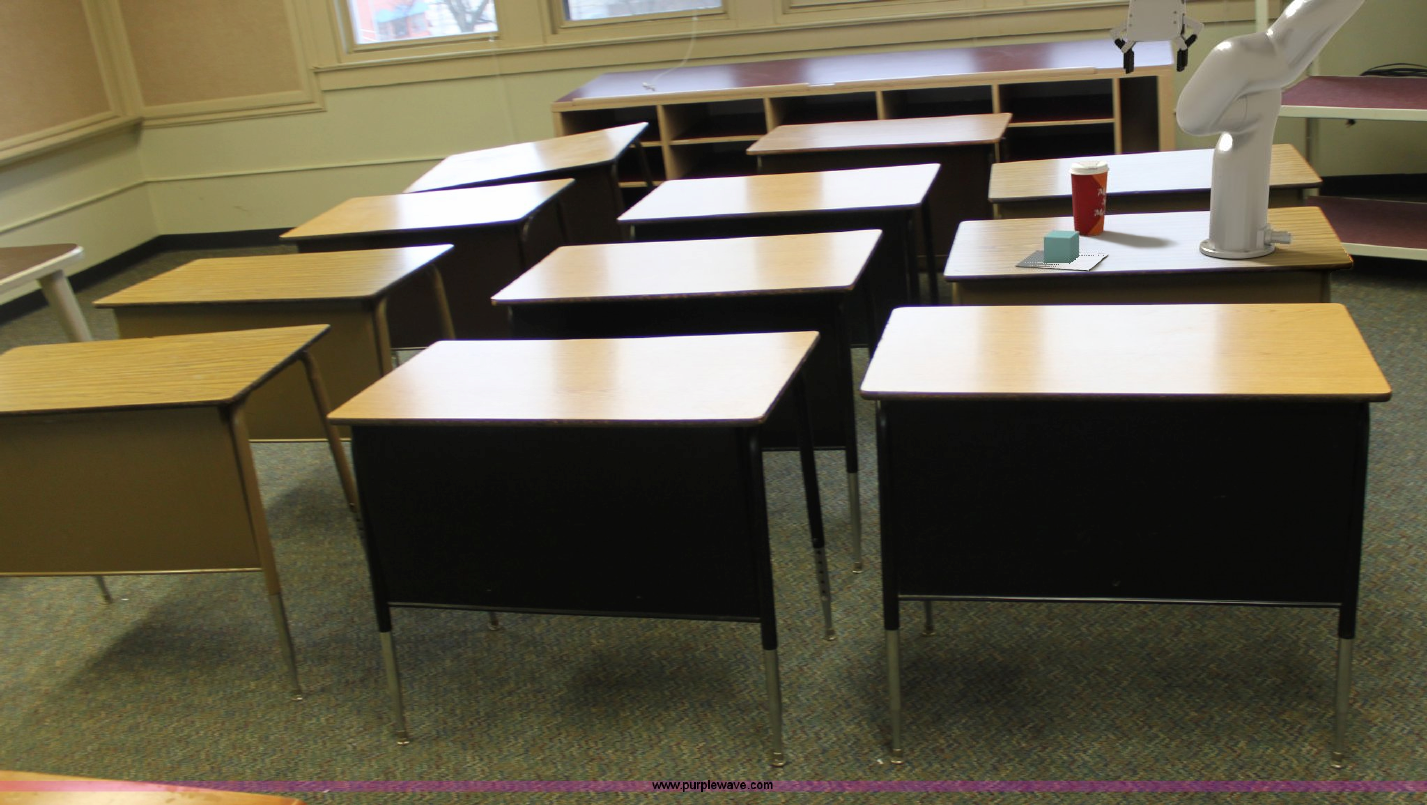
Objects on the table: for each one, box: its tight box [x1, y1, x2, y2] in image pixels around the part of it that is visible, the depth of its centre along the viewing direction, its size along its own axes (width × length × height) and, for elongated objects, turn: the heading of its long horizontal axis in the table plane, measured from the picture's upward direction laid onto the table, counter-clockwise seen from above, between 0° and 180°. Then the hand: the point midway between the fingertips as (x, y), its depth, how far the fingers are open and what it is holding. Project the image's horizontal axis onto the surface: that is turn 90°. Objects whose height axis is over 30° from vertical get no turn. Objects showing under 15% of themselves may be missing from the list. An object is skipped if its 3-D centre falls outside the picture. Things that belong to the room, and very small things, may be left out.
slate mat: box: [1015, 249, 1104, 268], centre depth 215 cm, size 14×11×1 cm
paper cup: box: [1069, 160, 1110, 237], centre depth 229 cm, size 8×8×14 cm
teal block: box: [1043, 229, 1080, 264], centre depth 214 cm, size 5×5×5 cm
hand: (1154, 71), depth 220 cm, fingers open, 9 cm apart
